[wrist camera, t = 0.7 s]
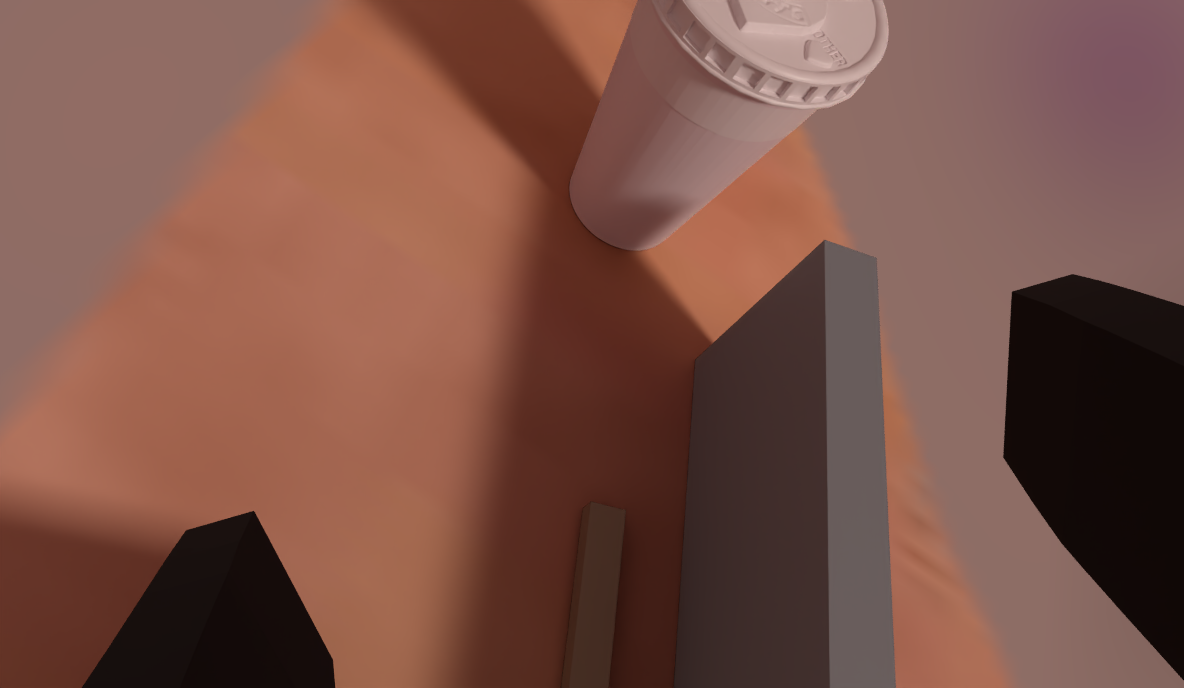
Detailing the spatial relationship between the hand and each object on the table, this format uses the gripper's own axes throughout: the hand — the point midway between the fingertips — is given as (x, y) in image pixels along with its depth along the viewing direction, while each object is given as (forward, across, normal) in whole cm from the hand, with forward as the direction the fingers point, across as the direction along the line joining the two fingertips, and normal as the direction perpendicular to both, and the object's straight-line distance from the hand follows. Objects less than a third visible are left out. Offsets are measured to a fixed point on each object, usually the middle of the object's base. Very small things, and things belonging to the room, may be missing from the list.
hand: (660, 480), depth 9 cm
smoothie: (+22, -3, +7) cm, 23 cm away
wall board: (+9, 0, +14) cm, 17 cm away
